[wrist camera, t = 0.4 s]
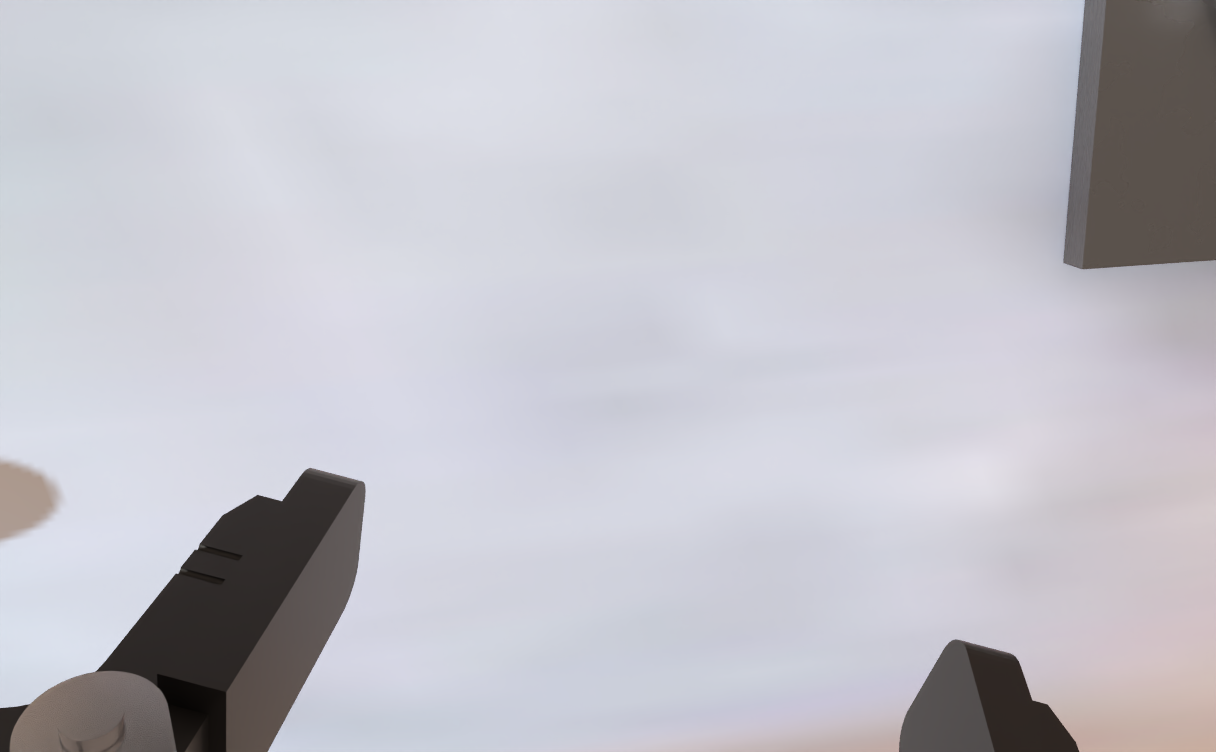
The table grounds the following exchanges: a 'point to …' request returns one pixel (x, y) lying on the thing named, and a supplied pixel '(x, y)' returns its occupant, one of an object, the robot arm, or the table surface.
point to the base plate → (1144, 135)
